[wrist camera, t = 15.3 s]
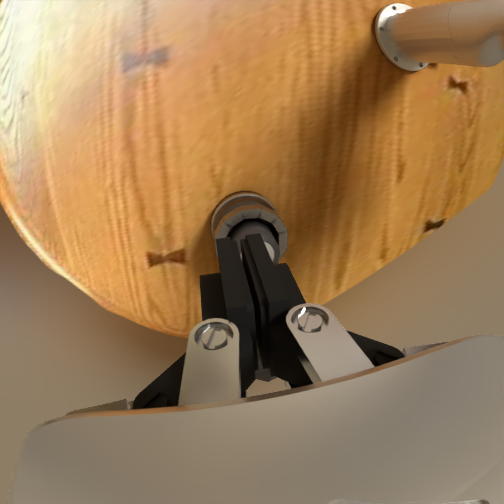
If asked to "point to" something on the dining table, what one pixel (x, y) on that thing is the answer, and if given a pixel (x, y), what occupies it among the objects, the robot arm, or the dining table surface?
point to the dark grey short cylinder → (252, 228)
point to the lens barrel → (247, 216)
